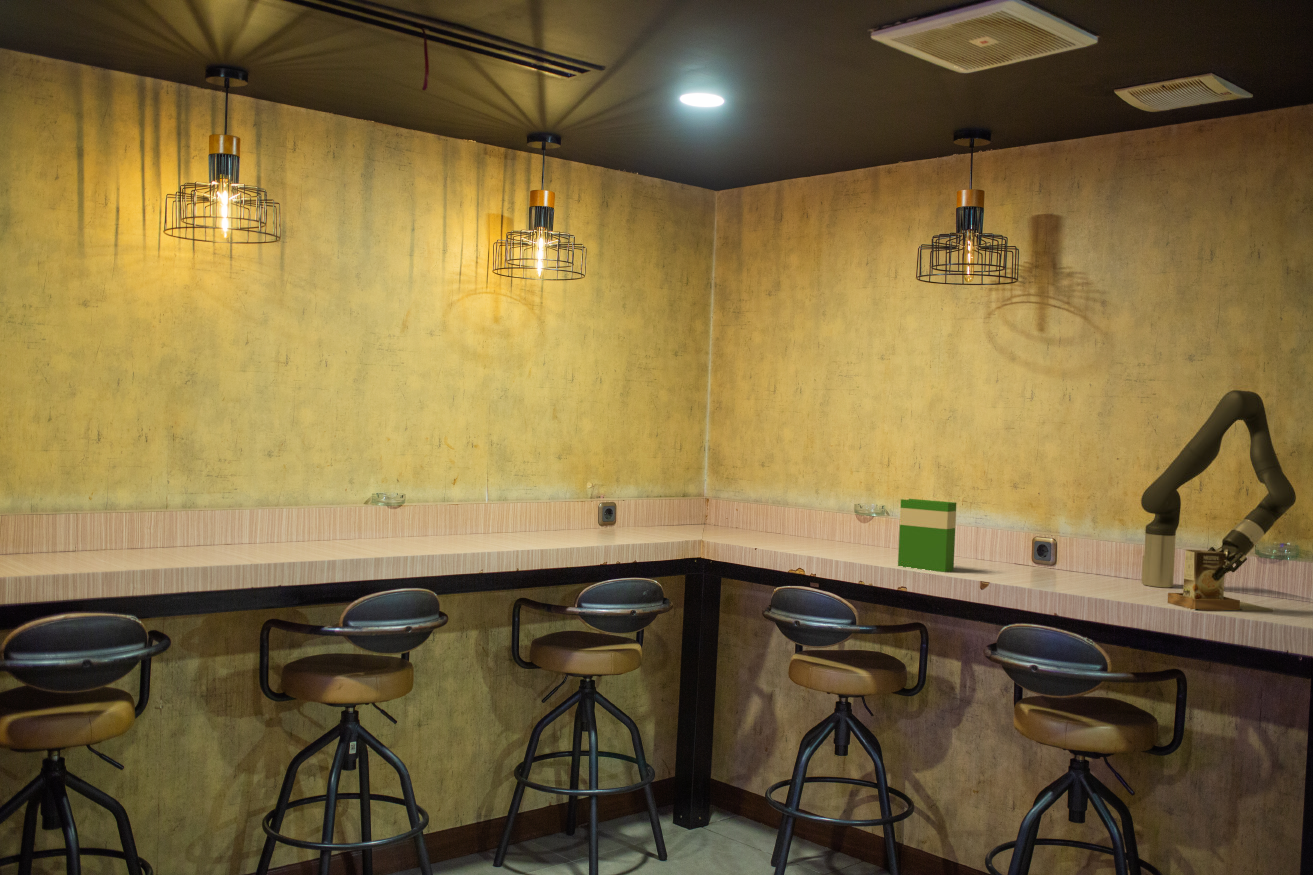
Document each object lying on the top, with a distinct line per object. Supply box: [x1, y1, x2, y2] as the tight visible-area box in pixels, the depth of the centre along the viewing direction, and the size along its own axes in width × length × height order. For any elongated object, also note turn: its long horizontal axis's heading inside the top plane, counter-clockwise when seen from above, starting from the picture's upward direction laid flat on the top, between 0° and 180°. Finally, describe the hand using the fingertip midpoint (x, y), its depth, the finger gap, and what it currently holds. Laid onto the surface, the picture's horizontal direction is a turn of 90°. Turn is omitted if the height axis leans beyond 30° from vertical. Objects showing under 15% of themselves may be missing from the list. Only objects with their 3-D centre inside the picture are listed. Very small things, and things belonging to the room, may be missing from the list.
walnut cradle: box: [1167, 592, 1241, 611], centre depth 317 cm, size 12×14×3 cm
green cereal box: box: [897, 498, 957, 573], centre depth 379 cm, size 18×7×24 cm, turn 52°
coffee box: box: [1182, 549, 1226, 600], centre depth 317 cm, size 9×6×16 cm
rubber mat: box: [1239, 601, 1274, 612], centre depth 319 cm, size 13×10×1 cm
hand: (1206, 576), depth 317 cm, fingers closed on coffee box, 7 cm apart
